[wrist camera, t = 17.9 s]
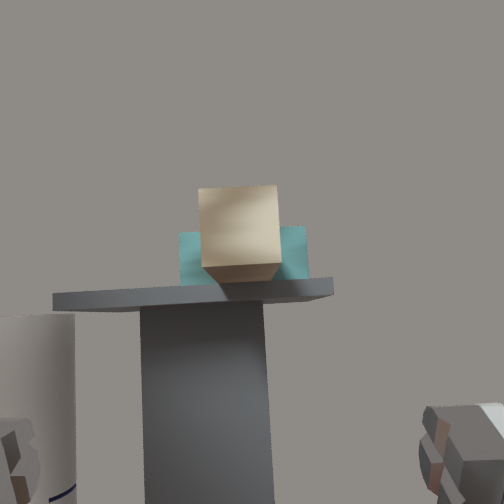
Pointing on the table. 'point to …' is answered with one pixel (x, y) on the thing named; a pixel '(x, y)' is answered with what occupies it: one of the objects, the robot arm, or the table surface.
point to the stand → (203, 384)
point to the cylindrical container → (43, 395)
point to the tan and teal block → (241, 239)
